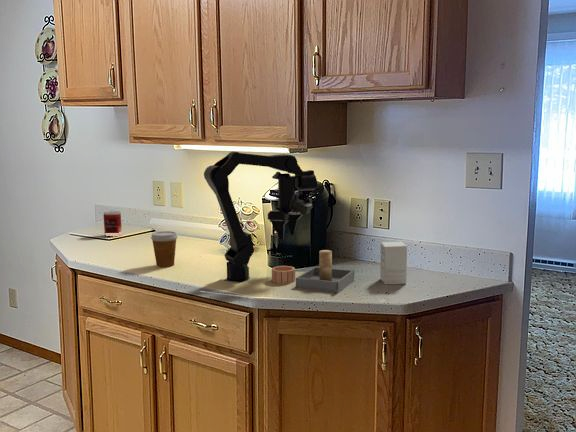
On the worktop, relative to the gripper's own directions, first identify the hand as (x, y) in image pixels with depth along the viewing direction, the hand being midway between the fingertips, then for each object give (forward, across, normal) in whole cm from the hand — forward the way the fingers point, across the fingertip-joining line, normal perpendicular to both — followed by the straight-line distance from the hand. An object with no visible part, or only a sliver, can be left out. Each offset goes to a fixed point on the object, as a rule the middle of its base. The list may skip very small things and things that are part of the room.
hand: (287, 237), depth 211 cm
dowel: (+12, -8, -17) cm, 22 cm away
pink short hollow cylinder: (+13, -10, -3) cm, 17 cm away
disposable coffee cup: (+13, -5, +47) cm, 49 cm away
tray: (+13, -8, -17) cm, 23 cm away
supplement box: (+13, +4, -36) cm, 39 cm away
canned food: (+13, +35, +104) cm, 111 cm away
